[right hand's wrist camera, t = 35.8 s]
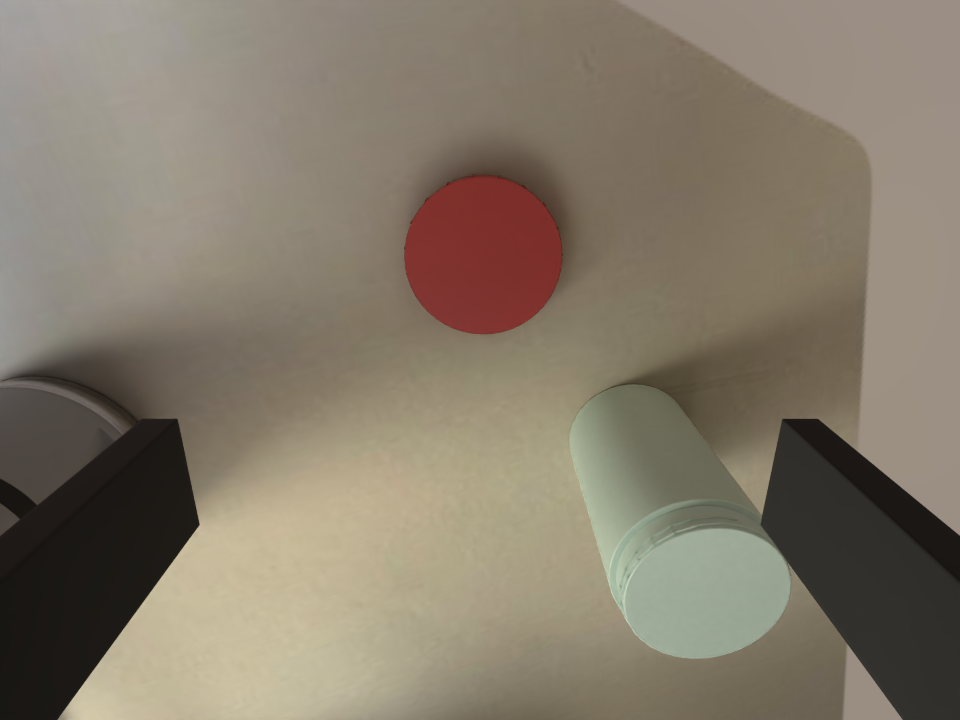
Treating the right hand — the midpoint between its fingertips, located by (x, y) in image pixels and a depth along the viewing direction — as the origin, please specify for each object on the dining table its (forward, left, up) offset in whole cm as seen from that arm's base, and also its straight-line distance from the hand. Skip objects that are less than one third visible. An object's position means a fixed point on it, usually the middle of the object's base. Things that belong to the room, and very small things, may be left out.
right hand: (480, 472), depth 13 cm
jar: (-9, -15, -26) cm, 32 cm away
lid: (0, 0, -25) cm, 25 cm away
